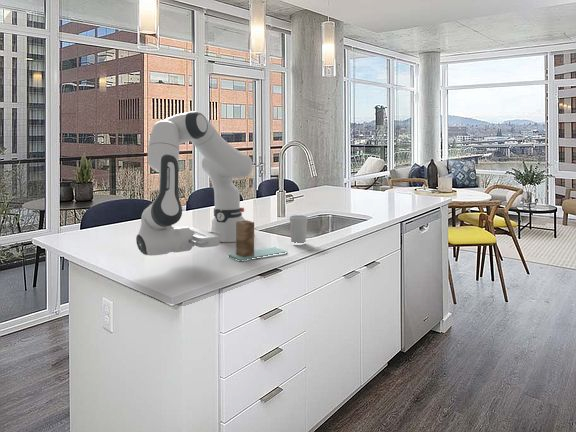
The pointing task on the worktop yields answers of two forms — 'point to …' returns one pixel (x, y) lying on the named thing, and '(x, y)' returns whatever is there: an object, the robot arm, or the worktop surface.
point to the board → (259, 253)
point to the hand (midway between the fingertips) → (217, 234)
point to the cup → (298, 228)
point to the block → (245, 238)
